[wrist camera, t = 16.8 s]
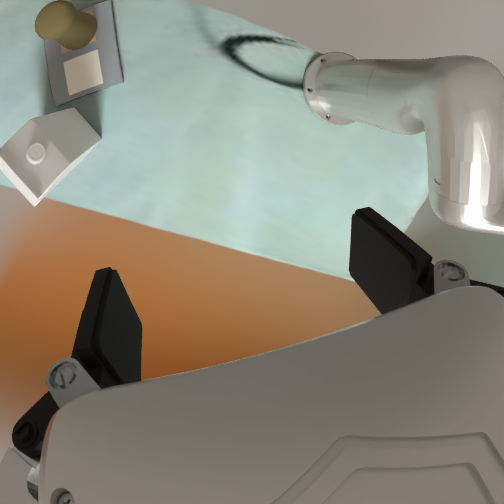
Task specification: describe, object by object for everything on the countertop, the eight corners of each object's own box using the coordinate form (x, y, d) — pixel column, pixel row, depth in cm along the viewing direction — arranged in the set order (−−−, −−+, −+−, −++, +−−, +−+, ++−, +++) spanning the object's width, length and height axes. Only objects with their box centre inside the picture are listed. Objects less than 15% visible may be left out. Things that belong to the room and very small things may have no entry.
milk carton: (72, 170, 39) (20, 222, 24) (44, 139, 35) (-21, 176, 20) (102, 138, 38) (57, 173, 23) (74, 106, 35) (14, 123, 19)
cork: (66, 57, 29) (35, 51, 20) (54, 27, 26) (22, 15, 17) (102, 35, 29) (80, 20, 20) (90, 5, 26) (66, -15, 17)
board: (111, 1, 27) (110, -1, 26) (123, 82, 35) (122, 82, 34) (45, 27, 26) (42, 26, 25) (57, 106, 33) (54, 106, 32)
